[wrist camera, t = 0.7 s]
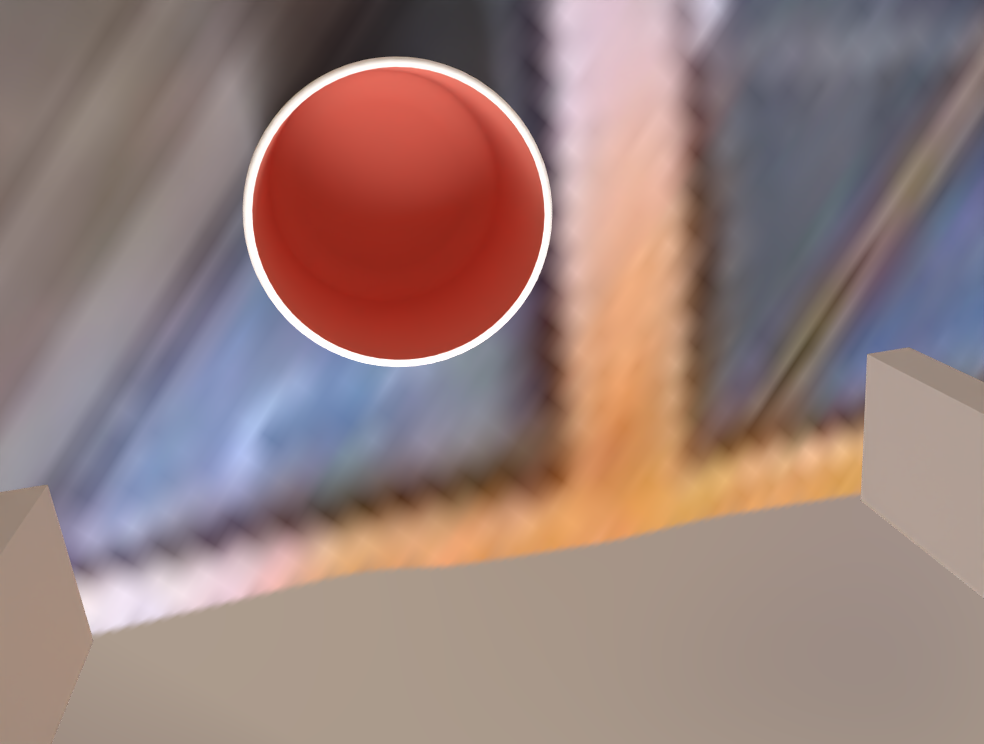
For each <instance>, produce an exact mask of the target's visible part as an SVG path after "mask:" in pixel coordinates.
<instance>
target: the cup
mask: <svg viewBox="0 0 984 744" xmlns="http://www.w3.org/2000/svg"><path fill="white" fill-rule="evenodd" d="M243 226H244V233H245V239H246V244H247V248H248V252H249V256H250V259H251V262H252V265H253V267H254V270H255V272H256V275H257V277H258V279H259V281H260V283H261V284H262V286H263V288H264V290H265V291H266V293H267V295H268V296H269V298H270V299H271V301H272V302H273V303H274V305H275V306H276V307H277V309H278V310H279V311H280V312H281V313H282V314H283V316H284V317H285V318H286V319H287V320H288V321H289V322H290V323H291V324H292V325H293V326H294V327H296V328H297V329H298V330H299V331H300V332H301V333H303V334H304V335H305V336H307V337H308V338H310V339H311V340H312V341H314V342H315V343H317V344H319V345H320V346H322V347H324V348H326V349H328V350H329V351H332V352H334V353H336V354H339V355H341V356H343V357H346V358H349V359H352V360H356V361H359V362H362V363H367V364H373V365H379V366H392V367H406V366H418V365H424V364H431V363H435V362H438V361H442V360H446V359H448V358H451V357H454V356H456V355H459V354H461V353H463V352H465V351H467V350H469V349H471V348H473V347H475V346H477V345H478V344H480V343H481V342H483V341H485V340H486V339H488V338H489V337H490V336H491V335H493V334H494V333H495V332H497V331H498V330H499V329H500V328H501V327H502V326H503V325H504V324H505V323H507V322H508V321H509V319H510V318H511V317H512V316H513V315H514V314H515V313H516V312H517V310H518V309H519V308H520V307H521V305H522V304H523V303H524V301H525V300H526V298H527V297H528V295H529V293H530V292H531V290H532V288H533V286H534V285H535V283H536V281H537V279H538V276H539V274H540V272H541V269H542V267H543V264H544V261H545V258H546V254H547V250H548V246H549V241H550V235H551V226H552V199H551V190H550V185H549V179H548V175H547V172H546V168H545V165H544V162H543V159H542V156H541V154H540V152H539V149H538V147H537V145H536V143H535V141H534V139H533V137H532V136H531V134H530V132H529V130H528V129H527V127H526V126H525V124H524V123H523V121H522V120H521V119H520V117H519V116H518V115H517V114H516V112H515V111H514V110H513V109H512V108H511V107H510V106H509V104H508V103H507V102H506V101H504V100H503V99H502V98H501V97H500V96H499V95H498V94H497V93H496V92H494V91H493V90H492V89H491V88H489V87H488V86H486V85H485V84H484V83H482V82H481V81H479V80H477V79H476V78H474V77H472V76H470V75H468V74H467V73H465V72H463V71H461V70H458V69H456V68H453V67H450V66H448V65H445V64H442V63H438V62H435V61H431V60H426V59H420V58H413V57H396V56H394V57H379V58H372V59H366V60H362V61H358V62H354V63H351V64H347V65H345V66H342V67H340V68H337V69H334V70H332V71H330V72H328V73H326V74H324V75H322V76H320V77H319V78H317V79H316V80H314V81H313V82H311V83H309V84H308V85H307V86H305V87H304V88H303V89H301V90H300V91H299V92H298V93H296V94H295V95H294V96H293V97H292V98H291V99H290V100H289V101H288V102H287V103H286V104H285V105H284V106H283V107H282V108H281V109H280V111H279V112H278V113H277V114H276V115H275V117H274V118H273V119H272V121H271V122H270V124H269V125H268V127H267V128H266V130H265V131H264V133H263V135H262V137H261V139H260V141H259V143H258V144H257V147H256V149H255V152H254V154H253V157H252V159H251V162H250V165H249V169H248V173H247V177H246V182H245V188H244V196H243Z"/></svg>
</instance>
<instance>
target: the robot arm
mask: <svg viewBox="0 0 984 744" xmlns="http://www.w3.org/2000/svg"><path fill="white" fill-rule="evenodd" d="M861 501H862V502H863V503H865V504H866V505H867V506H868V507H869V508H871V509H872V510H873V511H874V512H876V513H877V514H878V515H880V516H881V517H882V518H883V519H885V520H886V521H887V522H888V523H890V524H891V525H892V526H893V527H895V528H896V529H897V530H899V531H900V532H901V533H902V534H903V535H905V536H906V537H907V538H909V539H910V540H911V541H912V542H913V543H915V544H916V545H917V546H919V547H920V548H921V549H922V550H924V551H925V552H926V553H927V554H929V555H930V556H931V557H933V558H934V559H935V560H936V561H937V562H939V563H940V564H941V565H942V566H944V567H945V568H946V569H947V570H949V571H950V572H952V574H954V575H955V576H956V577H958V578H959V579H960V580H961V581H963V582H964V583H965V584H966V585H968V586H969V587H970V588H971V589H973V590H974V591H975V592H976V593H978V594H979V595H980V596H981V597H983V598H984V382H982V381H980V380H978V379H976V378H973V377H971V376H969V375H967V374H965V373H963V372H961V371H958V370H956V369H954V368H952V367H950V366H948V365H946V364H943V363H941V362H939V361H937V360H935V359H933V358H931V357H929V356H926V355H924V354H922V353H920V352H918V351H916V350H914V349H911V348H903V349H897V350H890V351H884V352H878V353H871V354H867V372H866V395H865V418H864V441H863V464H862V487H861ZM92 643H93V638H92V634H91V631H90V627H89V624H88V621H87V617H86V614H85V610H84V607H83V604H82V600H81V597H80V593H79V590H78V587H77V583H76V580H75V576H74V573H73V570H72V566H71V563H70V559H69V556H68V552H67V549H66V546H65V542H64V539H63V535H62V532H61V529H60V525H59V522H58V518H57V515H56V512H55V508H54V505H53V501H52V498H51V495H50V491H49V488H48V485H43V486H36V487H30V488H24V489H18V490H11V491H5V492H0V744H52V742H53V739H54V737H55V734H56V732H57V729H58V727H59V724H60V722H61V720H62V717H63V715H64V712H65V710H66V707H67V705H68V702H69V700H70V697H71V695H72V693H73V690H74V688H75V685H76V683H77V680H78V678H79V675H80V673H81V670H82V668H83V666H84V663H85V661H86V658H87V656H88V653H89V651H90V648H91V646H92Z"/></svg>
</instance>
